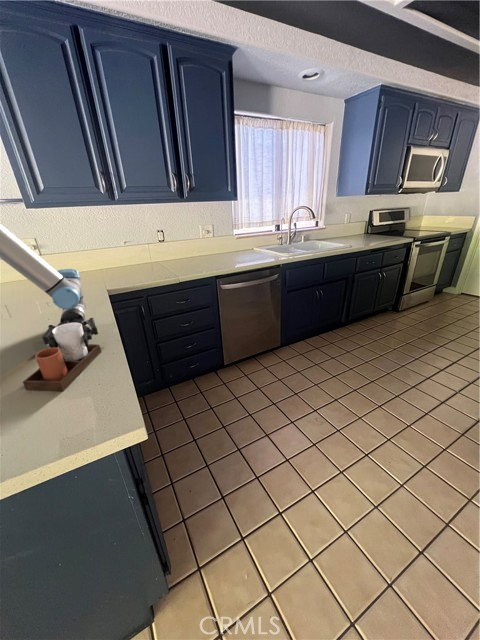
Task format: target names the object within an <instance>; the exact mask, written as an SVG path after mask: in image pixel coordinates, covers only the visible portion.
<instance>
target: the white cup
mask: <svg viewBox="0 0 480 640" xmlns="http://www.w3.org/2000/svg"><path fill="white" fill-rule="evenodd" d="M56 326H57V327H56V328H54V329H53V330H52V333H53V335H54V338H55V340H56V343H57V345H58V348H59V349H60V350H61V353H62V356H63V358H64V359H65V360H66V361H76V360H79V359H81V358H83V357H85V356H86V355H87V353H88V351H87V347H85V343H84V340H83V337H84V332H83V328H82V324H80V323H66V324H63V325H60V326H58V325H56Z"/></svg>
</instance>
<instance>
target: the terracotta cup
mask: <svg viewBox="0 0 480 640" xmlns="http://www.w3.org/2000/svg"><path fill="white" fill-rule="evenodd" d="M34 358H35V360H36V363H37V366H38V369H39V368H40V370H41V373H42V375H43V378H44V381H60V380H61V379H62V378H63V377H64V376H65V375H67V374H68V371H67V368H66V365H65V362H64V359H63V356H62V353H61V350H60V349H59V347H58V348H55V347H53V348H50V347H47V348H44V349H41V350H39V351H38V352H37V353H35V355H34Z"/></svg>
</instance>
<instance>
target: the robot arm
mask: <svg viewBox="0 0 480 640" xmlns="http://www.w3.org/2000/svg"><path fill="white" fill-rule="evenodd" d="M0 260H2V261H3V262H4V263H6V264H7V265H8V266H10V267H11V268H13V269H14V270H15V271H16V272H18V273H19V274H21V275H22V276H23V277H24V278H26V279H27V280H28V281H30V282H31V283H32V284H33V285H35V286H36V287H37V288H39V289H40V290H41V291H43V292H44V293H46V294H47V295H48V296H49V297H51V299H52V302H53V304H54V305H55V306H56V307H58V308H59V309H61V310H62V311H61V315H60V320H59V323H58V324H57V325H53V324H49V325H48V326H47V327H48V328H47V330H46V331H45V333H44V334H43V336H42V337H41V338H42V341H43V343H44V345H45V346H46V345H48V346H49V347H48V348H53V347H55V348H59V347H58V345H57V343H56V340H55V338H54V335H53V333H52V330H53V329H54V328H56V327H57V326H60V325H63V324H66V323H80V324H82V328H83V332H84V337H83V340H84V343H85V347H88V344H89V341H91V340H92V339H93V335H94V336H97V335H99V332H98V328H97V326H96V322H95V319H94V317H90V318H88V319H87V320H86V309H87V308H86V303H85V300H84V294H83V289H82V282H81V277H80V273H79V271H78V270H77V269H75V268H61V269H57V270H56V269H55V268H54V267H53V266H52V265H50V264H49V262H47V261H45V259H43V258H42V257H41V256H40V255H39V254H38V253H36V252H35V251H33V250H32V249H31V247H29V246H28V245H26V244H25V243H24V242H23V241H22V240H21V239H20V238H18V237H17V236H16V235H15V234H14V233H12V232H11V231H10V230H9V229H8V228H7V227H5V226H4V225H3V224H2V223H0ZM87 325H88V326H87Z"/></svg>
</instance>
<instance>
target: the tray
mask: <svg viewBox="0 0 480 640" xmlns="http://www.w3.org/2000/svg"><path fill="white" fill-rule="evenodd" d="M87 351H88V353H87V355H86V356H85V357H83V358H81V359H79V360H76V361H66V360H65V359H64V358H63V359H64V362H65V365H66V368H67V371H68V374H67V375H65V376H64V377H63V378H62V379H61V380H60V381H44V378H43V375H42V373H41V370H40V368H39V367H38V368H37V370H35V371H34V372H33V373H32V374H30V375H29V376H28V377H27V378H25V379H24V380H23V381H22V383H23V386H24V388H25V390H26V391H27V392H28V391H30V392H31V391H33V392H34V391H35V392H65V390H67V388H68V387H69V386H70V385H71V384H72V383H73V382H74V381H75V380H76V379H77V378H78V377H79V376H80V375H81V374H82V373H83V372H84V371H85V369H87V367H88V366H89V365H91V363H92V362H93V361H94V360H95V359H96V358H97V357H99V355H101V353H102V349H101V346H100V344H96V343H95V344H91V343H90V344H89V343H88V347H87Z"/></svg>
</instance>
